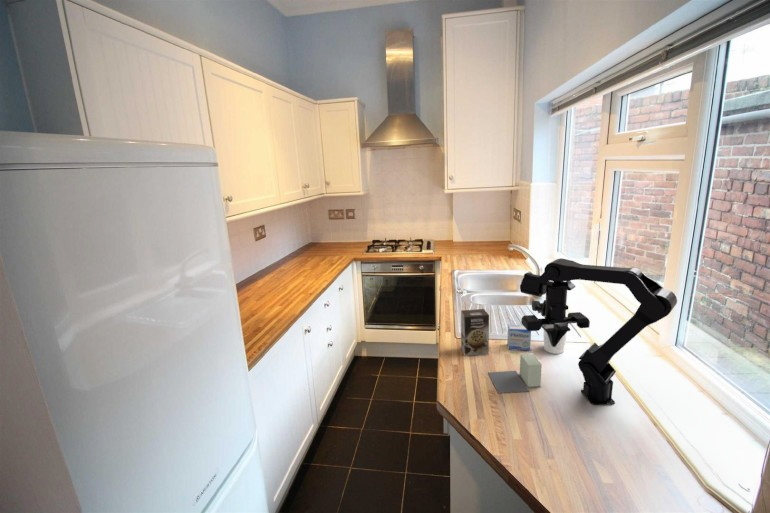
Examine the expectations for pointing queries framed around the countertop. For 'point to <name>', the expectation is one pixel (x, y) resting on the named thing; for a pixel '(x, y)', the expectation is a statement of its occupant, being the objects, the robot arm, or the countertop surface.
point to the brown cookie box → (475, 332)
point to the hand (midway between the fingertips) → (553, 346)
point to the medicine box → (518, 338)
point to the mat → (507, 382)
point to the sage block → (530, 370)
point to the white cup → (558, 348)
